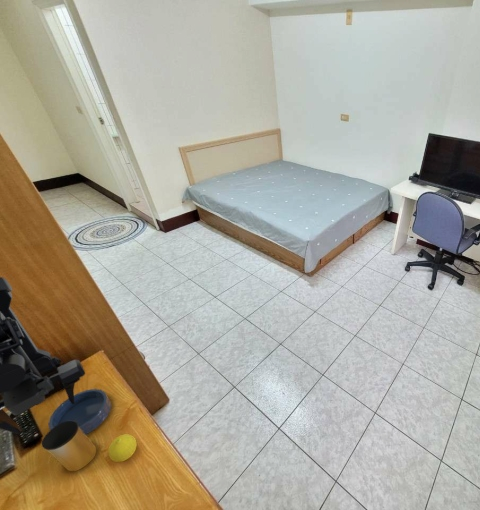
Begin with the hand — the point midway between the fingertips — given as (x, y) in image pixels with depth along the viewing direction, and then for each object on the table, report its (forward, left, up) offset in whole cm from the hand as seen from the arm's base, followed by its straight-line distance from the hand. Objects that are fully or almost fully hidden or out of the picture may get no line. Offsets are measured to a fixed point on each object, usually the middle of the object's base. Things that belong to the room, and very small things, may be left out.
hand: (48, 417), depth 64 cm
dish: (-7, +4, -14) cm, 16 cm away
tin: (+5, +1, -14) cm, 15 cm away
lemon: (+13, +9, -15) cm, 21 cm away
